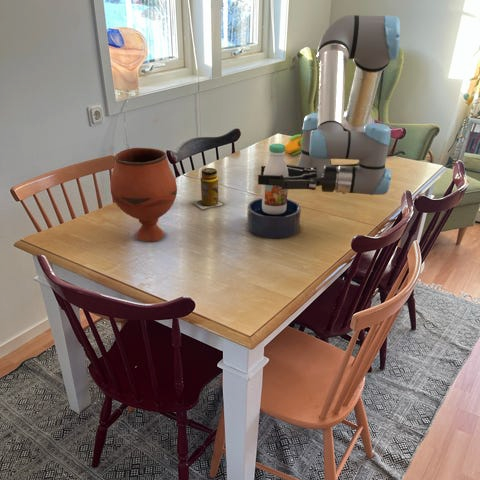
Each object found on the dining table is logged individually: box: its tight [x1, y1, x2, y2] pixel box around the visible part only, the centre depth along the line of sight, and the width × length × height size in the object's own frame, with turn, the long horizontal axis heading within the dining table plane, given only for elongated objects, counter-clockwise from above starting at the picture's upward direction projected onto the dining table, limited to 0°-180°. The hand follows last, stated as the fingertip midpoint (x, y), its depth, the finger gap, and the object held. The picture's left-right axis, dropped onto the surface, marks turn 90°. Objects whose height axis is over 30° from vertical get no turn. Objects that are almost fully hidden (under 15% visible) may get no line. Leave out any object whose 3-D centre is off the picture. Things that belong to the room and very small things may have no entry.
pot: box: [246, 197, 302, 240], centre depth 152 cm, size 17×17×7 cm
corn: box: [284, 133, 303, 156], centre depth 218 cm, size 7×8×20 cm
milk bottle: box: [261, 143, 289, 214], centre depth 145 cm, size 8×8×20 cm
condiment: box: [192, 167, 224, 210], centre depth 166 cm, size 7×8×12 cm
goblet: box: [109, 147, 178, 243], centre depth 141 cm, size 19×19×25 cm
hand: (259, 174), depth 145 cm, fingers closed on milk bottle, 8 cm apart
